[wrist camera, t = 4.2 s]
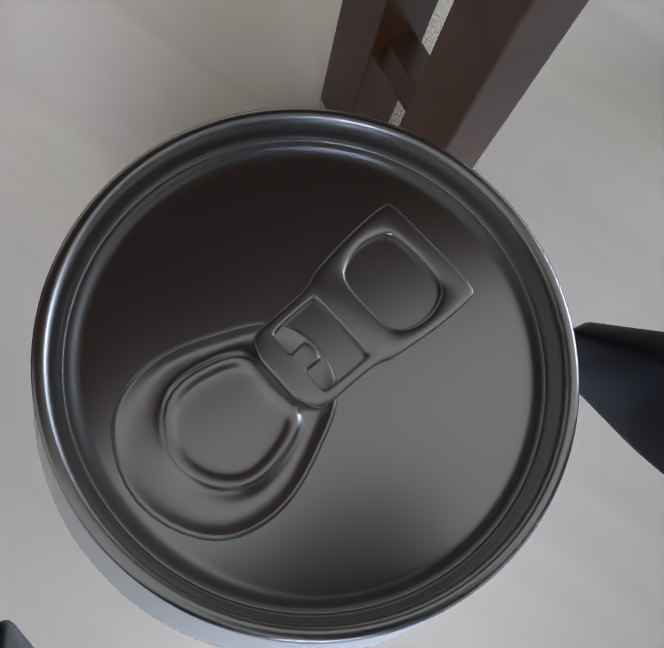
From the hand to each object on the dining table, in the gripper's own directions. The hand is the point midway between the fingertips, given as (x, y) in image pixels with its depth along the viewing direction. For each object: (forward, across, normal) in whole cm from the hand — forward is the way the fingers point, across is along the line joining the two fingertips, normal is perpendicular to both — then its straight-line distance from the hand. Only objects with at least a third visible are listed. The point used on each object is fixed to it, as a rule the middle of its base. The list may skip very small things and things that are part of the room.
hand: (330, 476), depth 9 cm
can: (+7, 0, +6) cm, 9 cm away
